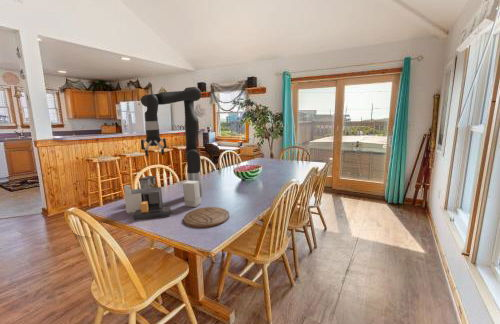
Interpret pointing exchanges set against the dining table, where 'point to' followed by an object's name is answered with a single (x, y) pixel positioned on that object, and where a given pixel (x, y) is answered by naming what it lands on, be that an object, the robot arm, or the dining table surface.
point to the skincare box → (191, 193)
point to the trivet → (206, 217)
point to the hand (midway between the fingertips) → (155, 155)
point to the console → (152, 213)
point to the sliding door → (132, 200)
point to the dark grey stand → (150, 197)
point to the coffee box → (148, 182)
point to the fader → (144, 206)
